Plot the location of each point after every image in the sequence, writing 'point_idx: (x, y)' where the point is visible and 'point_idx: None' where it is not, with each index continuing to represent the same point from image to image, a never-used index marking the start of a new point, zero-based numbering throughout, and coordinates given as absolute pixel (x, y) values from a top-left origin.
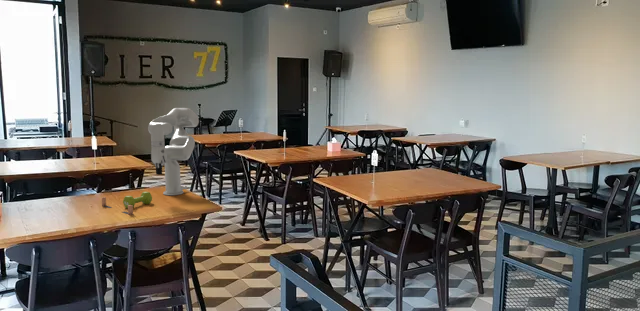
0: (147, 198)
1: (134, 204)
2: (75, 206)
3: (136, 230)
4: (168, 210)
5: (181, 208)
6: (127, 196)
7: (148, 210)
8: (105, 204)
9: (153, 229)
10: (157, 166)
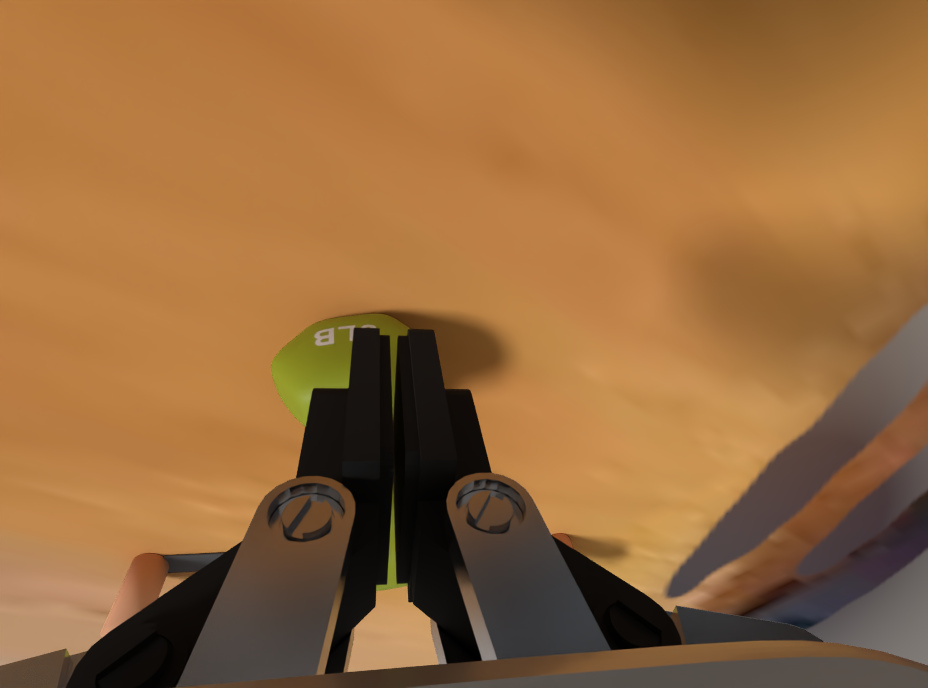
0: None
1: None
2: None
3: (800, 614)
4: (731, 354)
5: (803, 250)
6: (393, 587)
7: (582, 440)
8: (164, 572)
9: (870, 574)
10: (437, 653)
